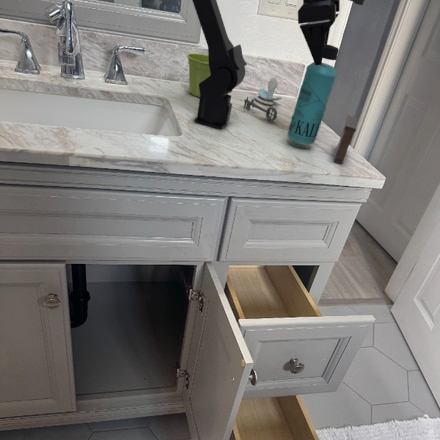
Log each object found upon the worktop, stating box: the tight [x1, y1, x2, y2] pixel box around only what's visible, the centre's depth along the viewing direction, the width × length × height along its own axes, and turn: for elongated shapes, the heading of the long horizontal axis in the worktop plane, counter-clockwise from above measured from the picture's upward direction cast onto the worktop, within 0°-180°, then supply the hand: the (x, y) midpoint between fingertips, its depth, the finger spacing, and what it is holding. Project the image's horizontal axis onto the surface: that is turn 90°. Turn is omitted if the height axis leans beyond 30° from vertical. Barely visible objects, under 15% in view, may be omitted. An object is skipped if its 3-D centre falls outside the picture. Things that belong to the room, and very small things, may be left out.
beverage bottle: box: [287, 43, 340, 145], centre depth 88 cm, size 6×7×20 cm
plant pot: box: [186, 52, 210, 98], centre depth 109 cm, size 9×9×9 cm
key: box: [243, 96, 278, 122], centre depth 105 cm, size 12×1×3 cm, turn 39°
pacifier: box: [254, 77, 282, 106], centre depth 115 cm, size 7×6×6 cm
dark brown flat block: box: [333, 114, 358, 165], centre depth 91 cm, size 2×9×8 cm, turn 164°
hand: (320, 60), depth 83 cm, fingers open, 9 cm apart
